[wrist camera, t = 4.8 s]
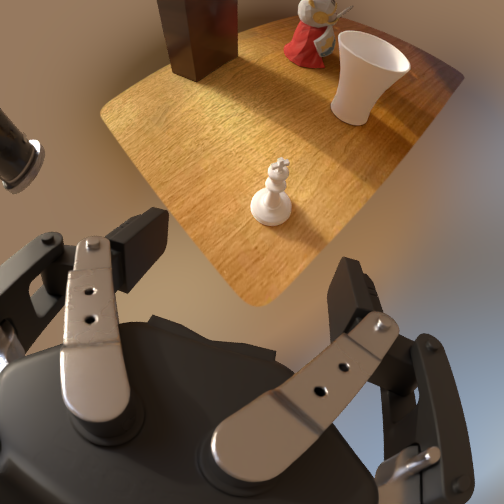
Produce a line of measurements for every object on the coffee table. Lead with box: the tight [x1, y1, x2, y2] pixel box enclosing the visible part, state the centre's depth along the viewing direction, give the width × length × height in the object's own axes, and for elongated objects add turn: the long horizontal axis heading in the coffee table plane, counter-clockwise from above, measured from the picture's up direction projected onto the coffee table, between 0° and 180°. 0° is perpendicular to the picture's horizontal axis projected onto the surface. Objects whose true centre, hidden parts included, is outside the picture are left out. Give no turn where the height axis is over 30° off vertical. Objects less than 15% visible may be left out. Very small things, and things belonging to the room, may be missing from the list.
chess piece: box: [251, 157, 292, 226], centre depth 28 cm, size 5×5×10 cm
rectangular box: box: [157, 0, 238, 82], centre depth 31 cm, size 11×6×20 cm, turn 142°
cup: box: [331, 31, 410, 125], centre depth 31 cm, size 10×10×14 cm
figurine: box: [284, 0, 353, 68], centre depth 35 cm, size 13×11×15 cm
